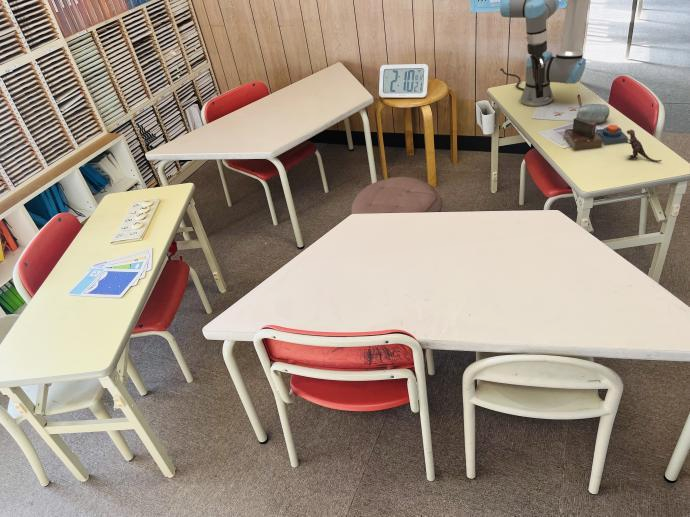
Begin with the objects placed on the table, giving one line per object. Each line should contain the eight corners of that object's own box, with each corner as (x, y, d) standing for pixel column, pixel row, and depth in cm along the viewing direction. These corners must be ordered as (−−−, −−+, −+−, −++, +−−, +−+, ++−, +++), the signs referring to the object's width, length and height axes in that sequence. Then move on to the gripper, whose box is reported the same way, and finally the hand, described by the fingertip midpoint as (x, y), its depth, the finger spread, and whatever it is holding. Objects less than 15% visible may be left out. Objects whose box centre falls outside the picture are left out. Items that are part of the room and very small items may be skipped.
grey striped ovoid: (610, 109, 243) (607, 95, 235) (611, 126, 239) (608, 112, 231) (577, 115, 250) (574, 102, 242) (578, 132, 246) (575, 119, 238)
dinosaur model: (628, 127, 209) (670, 134, 201) (622, 153, 216) (662, 161, 209) (625, 132, 206) (667, 139, 199) (619, 158, 214) (659, 166, 206)
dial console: (560, 137, 236) (561, 129, 234) (593, 133, 234) (594, 125, 232) (570, 151, 224) (571, 143, 222) (605, 147, 223) (606, 139, 221)
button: (605, 129, 228) (606, 125, 227) (615, 128, 227) (616, 124, 226) (609, 133, 224) (609, 129, 223) (619, 131, 224) (619, 128, 223)
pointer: (572, 131, 231) (573, 118, 227) (575, 130, 231) (577, 116, 227) (591, 138, 223) (592, 124, 219) (594, 137, 224) (596, 123, 220)
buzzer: (595, 134, 233) (596, 125, 230) (617, 131, 232) (618, 123, 229) (605, 145, 224) (606, 136, 222) (627, 142, 223) (628, 133, 221)
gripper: (522, 39, 220) (526, 93, 234) (532, 49, 209) (535, 105, 223) (541, 34, 219) (543, 89, 233) (551, 44, 208) (553, 100, 222)
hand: (539, 96), depth 228 cm, fingers closed
